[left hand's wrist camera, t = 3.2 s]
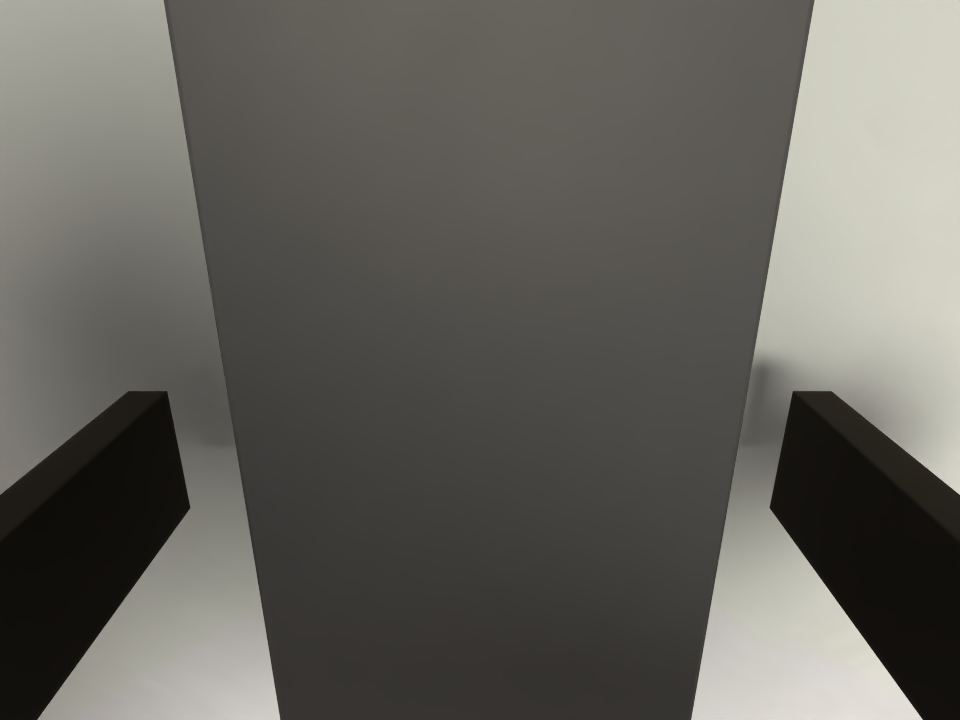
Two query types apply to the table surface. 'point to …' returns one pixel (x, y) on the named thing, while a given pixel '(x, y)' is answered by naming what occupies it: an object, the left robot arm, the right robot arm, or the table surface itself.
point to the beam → (487, 332)
